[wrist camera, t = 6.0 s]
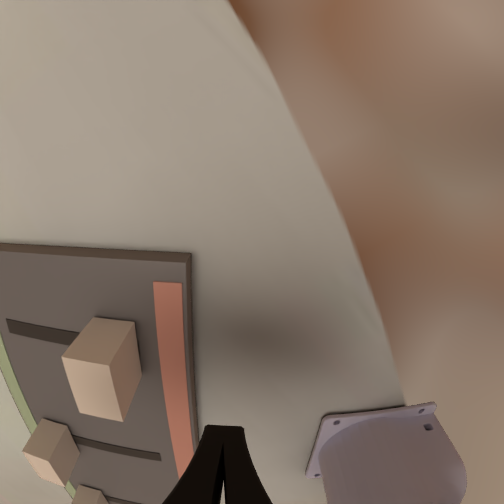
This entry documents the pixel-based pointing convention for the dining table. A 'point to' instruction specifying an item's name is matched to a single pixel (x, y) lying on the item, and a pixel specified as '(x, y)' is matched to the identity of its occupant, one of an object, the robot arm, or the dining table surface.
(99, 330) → the block
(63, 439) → the breaker middle
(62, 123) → the dining table surface
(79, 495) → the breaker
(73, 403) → the breaker panel
